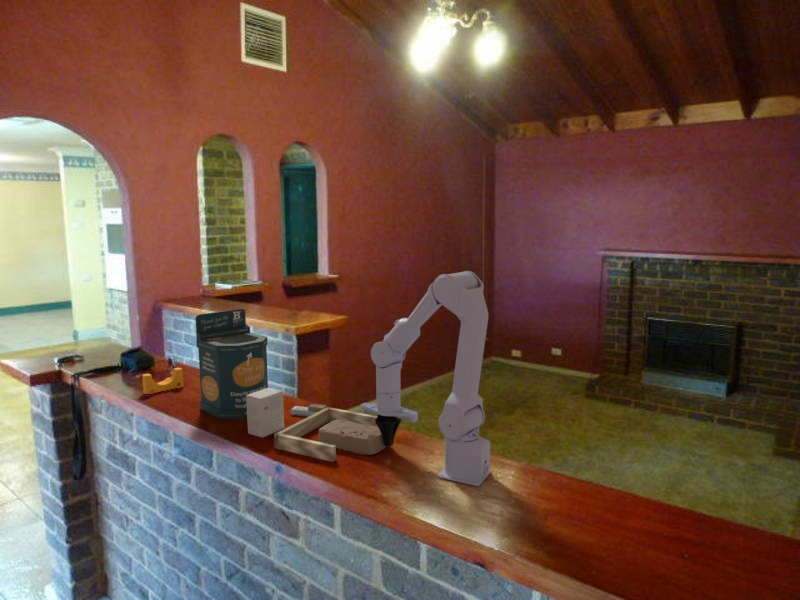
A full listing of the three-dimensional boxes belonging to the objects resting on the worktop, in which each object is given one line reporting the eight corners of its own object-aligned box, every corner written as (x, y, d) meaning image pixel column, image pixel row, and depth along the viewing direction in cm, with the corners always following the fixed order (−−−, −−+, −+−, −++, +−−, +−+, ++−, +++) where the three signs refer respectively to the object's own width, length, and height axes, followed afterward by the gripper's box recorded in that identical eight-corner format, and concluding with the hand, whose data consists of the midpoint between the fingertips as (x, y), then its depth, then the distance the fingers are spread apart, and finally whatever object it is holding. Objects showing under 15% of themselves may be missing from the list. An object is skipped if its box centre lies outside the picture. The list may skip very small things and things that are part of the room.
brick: (316, 445, 142) (316, 426, 141) (336, 433, 149) (336, 416, 148) (373, 459, 134) (373, 439, 133) (391, 446, 141) (391, 428, 140)
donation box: (248, 396, 179) (244, 308, 175) (278, 408, 168) (274, 314, 164) (200, 409, 168) (194, 315, 164) (228, 422, 157) (223, 322, 153)
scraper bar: (327, 415, 163) (327, 404, 162) (323, 419, 160) (323, 408, 159) (295, 412, 165) (295, 401, 165) (290, 416, 163) (290, 405, 162)
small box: (270, 424, 155) (268, 386, 154) (284, 428, 152) (283, 390, 151) (247, 433, 149) (245, 394, 147) (262, 438, 146) (260, 398, 144)
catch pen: (381, 429, 151) (381, 417, 150) (332, 462, 131) (332, 447, 131) (327, 419, 159) (327, 407, 158) (274, 448, 139) (273, 434, 139)
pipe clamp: (177, 385, 192) (176, 366, 191) (183, 387, 189) (182, 368, 188) (141, 393, 184) (140, 373, 183) (146, 396, 181) (145, 376, 180)
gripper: (423, 390, 135) (423, 445, 137) (370, 382, 142) (371, 434, 144) (409, 398, 129) (410, 456, 131) (355, 389, 136) (356, 444, 138)
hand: (388, 445), depth 137 cm, fingers closed
